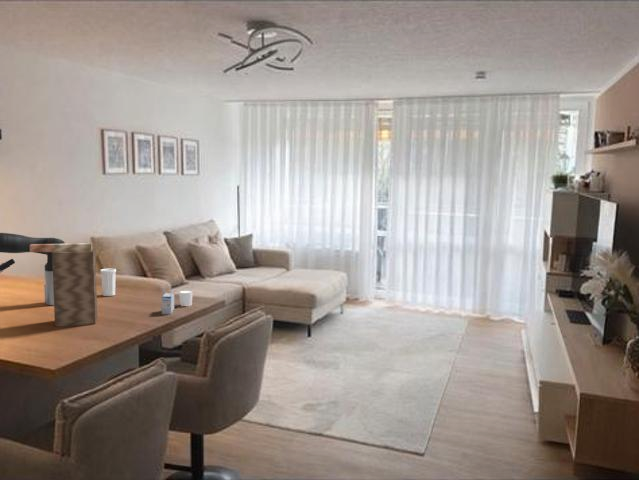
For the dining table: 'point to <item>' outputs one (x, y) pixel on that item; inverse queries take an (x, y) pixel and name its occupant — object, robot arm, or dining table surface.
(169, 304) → the medicine box
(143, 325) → the dining table surface
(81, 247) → the wooden block
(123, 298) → the dining table surface
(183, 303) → the white tub
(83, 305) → the walnut pillar
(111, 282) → the cup
